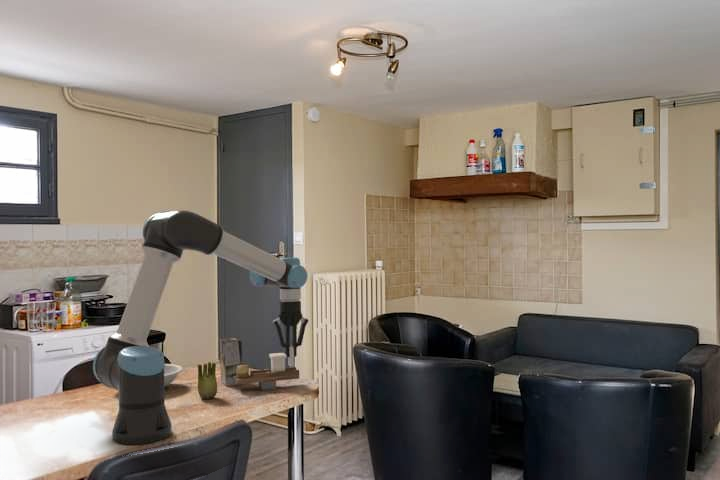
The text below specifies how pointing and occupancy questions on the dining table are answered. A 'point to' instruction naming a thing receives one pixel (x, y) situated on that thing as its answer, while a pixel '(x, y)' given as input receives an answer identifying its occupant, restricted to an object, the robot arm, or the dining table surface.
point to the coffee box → (230, 359)
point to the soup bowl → (171, 373)
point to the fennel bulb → (207, 381)
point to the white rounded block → (277, 362)
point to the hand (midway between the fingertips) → (291, 365)
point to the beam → (264, 376)
